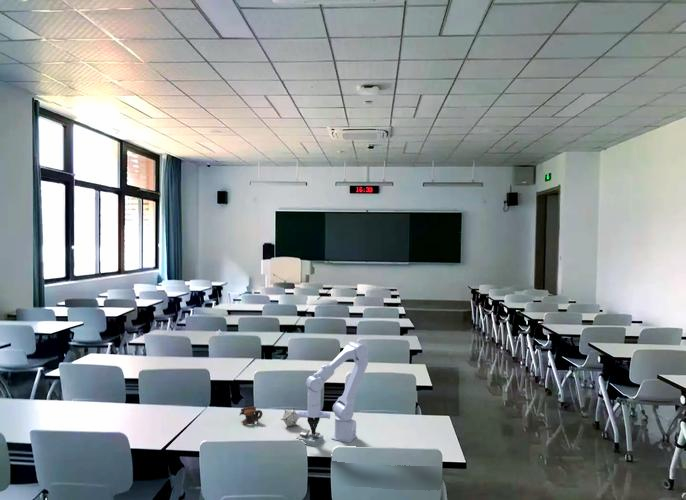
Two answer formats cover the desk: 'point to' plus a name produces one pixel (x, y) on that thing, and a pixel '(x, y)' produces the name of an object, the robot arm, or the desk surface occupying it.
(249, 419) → the pottery mug
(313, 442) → the switch panel
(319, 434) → the rocker
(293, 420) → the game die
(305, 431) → the rocker
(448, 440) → the desk surface
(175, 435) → the desk surface
